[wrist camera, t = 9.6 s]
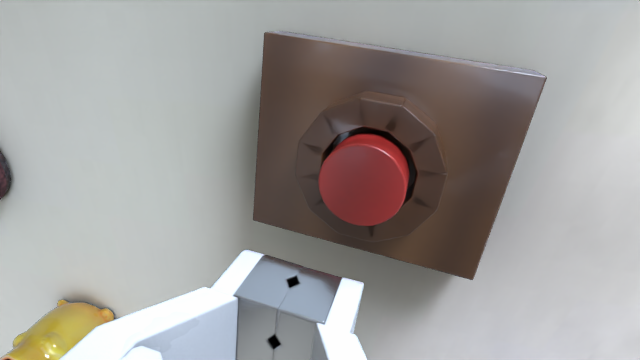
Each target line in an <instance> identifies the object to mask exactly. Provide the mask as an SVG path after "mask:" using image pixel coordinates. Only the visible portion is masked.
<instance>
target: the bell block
mask: <svg viewBox="0 0 640 360" xmlns="http://www.w3.org/2000/svg"><path fill="white" fill-rule="evenodd" d="M546 79H547V77H546V76H544V75H542V74H540V73H538V72H536V71H534V70H528V69H522V68H515V67H509V66H503V65H496V64H490V63H483V62H477V61H471V60H464V59H458V58H451V57H445V56H438V55H432V54H426V53H419V52H413V51H406V50H400V49H394V48H387V47H381V46H374V45H368V44H361V43H355V42H349V41H342V40H336V39H329V38H323V37H316V36H310V35H304V34H297V33H291V32H284V31H277V32H265V33H264V47H263V64H262V80H261V97H260V113H259V130H258V146H257V163H256V179H255V196H254V212H253V220H254V221H258V222H261V223H265V224H269V225H272V226H276V227H280V228H283V229H287V230H291V231H294V232H298V233H302V234H305V235H309V236H313V237H316V238H320V239H324V240H327V241H331V242H335V243H338V244H342V245H346V246H349V247H353V248H357V249H360V250H364V251H368V252H371V253H375V254H379V255H382V256H386V257H390V258H393V259H397V260H401V261H404V262H408V263H412V264H415V265H419V266H423V267H426V268H430V269H434V270H437V271H441V272H445V273H448V274H452V275H456V276H459V277H463V278H467V279H470V280H473V279H474V276H475V273H476V270H477V268H478V265H479V262H480V259H481V257H482V254H483V251H484V249H485V246H486V243H487V240H488V238H489V235H490V232H491V229H492V227H493V224H494V221H495V218H496V216H497V213H498V210H499V207H500V205H501V202H502V199H503V197H504V194H505V191H506V188H507V186H508V183H509V180H510V177H511V175H512V172H513V169H514V166H515V164H516V161H517V158H518V155H519V153H520V150H521V147H522V144H523V142H524V139H525V136H526V134H527V131H528V128H529V125H530V123H531V120H532V117H533V114H534V112H535V109H536V106H537V103H538V101H539V98H540V95H541V92H542V90H543V87H544V84H545V82H546ZM361 133H372V134H377V135H381V136H383V137H385V138H387V139H389V140H391V141H392V142H393V143H395V144H396V145H397V146H398V147H399V148H400V149H401V151H402V152H403V154H404V155H405V157H406V160H407V162H408V166H409V182H408V187H407V192H406V196H405V200H404V202H403V204H402V206H401V208H400V209H399V211H398V212H397V213H396V214H395V215H394V216H393V217H392V218H390V219H389V220H387V221H385V222H383V223H381V224H377V225H372V226H358V225H353V224H350V223H348V222H345V221H343V220H341V219H340V218H338V217H337V216H336V215H334V214H333V213H332V212H331V211H330V210H329V209H328V207H327V206H326V205H325V203H324V201H323V199H322V197H321V194H320V191H319V184H318V179H319V172H320V169H321V166H322V164H323V163H324V161H325V160H326V158H327V157H328V156H329V155H330V153H331V152H332V151H333V150H334V149H335V148H336V146H337V145H338V144H339V143H340V142H342V141H343V140H344V139H346V138H348V137H350V136H353V135H356V134H361Z"/></svg>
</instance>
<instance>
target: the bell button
mask: <svg viewBox="0 0 640 360" xmlns="http://www.w3.org/2000/svg"><path fill="white" fill-rule="evenodd" d="M408 182H409V166H408V162H407V160H406V157H405V155H404V154H403V152H402V151H401V149H400V148H399V147H398V146H397V145H396V144H395V143H393V142H392V141H391V140H389V139H387V138H385V137H383V136H381V135H377V134H372V133H361V134H356V135H353V136H350V137H348V138H346V139H344V140H343V141H342V142H340V143H339V144H338V145H337V146H336V148H335V149H334V150H333V151H332V152H331V153H330V155H329V156H328V157H327V158H326V160H325V161H324V163H323V164H322V166H321V169H320V172H319V179H318V184H319V191H320V194H321V197H322V199H323V201H324V203H325V205H326V206H327V207H328V209H329V210H330V211H331V212H332V213H333V214H334V215H336V216H337V217H338V218H340V219H341V220H343V221H345V222H348V223H350V224H353V225H358V226H372V225H377V224H381V223H383V222H385V221H387V220H389V219H390V218H392V217H393V216H394V215H395V214H396V213H397V212H398V211H399V209H400V208H401V206H402V204H403V202H404V200H405V196H406V192H407V187H408Z"/></svg>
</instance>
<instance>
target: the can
mask: <svg viewBox="0 0 640 360" xmlns="http://www.w3.org/2000/svg"><path fill="white" fill-rule="evenodd" d="M10 181H11V178H10V171H9V168H8V165H7V163H6V160H5V158H4V156H3V155H2V153H1V152H0V200H1V198H2V197H3V196H4V194H5V193H6V191H7V190H8V189H9V186H10Z"/></svg>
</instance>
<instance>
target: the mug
mask: <svg viewBox="0 0 640 360" xmlns="http://www.w3.org/2000/svg"><path fill="white" fill-rule="evenodd" d="M113 320H114V315H113V313H112V312H111V311H110V310H109V309H107V308H104V309H99V308H97V307H95V306H93V305H91V304H88V303H84V302H72V303H69V302H67V301H65V300H59V301H58V303H57V307H56V308H54V309H53V310H51V311H50V312H48V313H47V314H45V315H44V316H43V317H42V318H40V319H39V320H38V321H37V322H36V323H35V324H34V325H33V326H32V327H30V328H29V329H28V330H27V331H26V332H24V333H22V334H20V335H18V336H17V337H16V338H15V339H14V341H13V349H12V350H11V351H9V352H8V353H7V354H5V355H4V356H2V357H1V358H0V360H59V359H60V358H61V357H62V356H64V355H65V354H66V353H67V352H68V351H69V350H70V349H71V348H73V347H74V346H75V345H76V344H77V343H78V342H79V341H80V340H82V339H83V338H84V337H85V336H86V335H87V334H88V333H89V332H91V331H92V330H93V329H94V328H95V327H96V326H99V325H102V324H104V323H107V322H110V321H113Z"/></svg>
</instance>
